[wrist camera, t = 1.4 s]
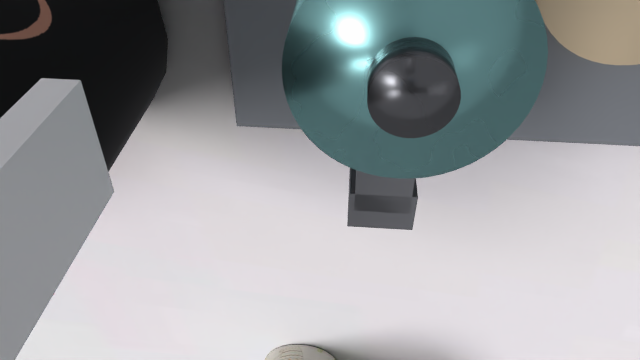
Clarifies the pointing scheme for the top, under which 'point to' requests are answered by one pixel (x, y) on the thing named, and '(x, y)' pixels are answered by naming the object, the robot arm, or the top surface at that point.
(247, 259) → the top surface
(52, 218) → the robot arm
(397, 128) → the teal rounded piece
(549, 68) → the grey tray with posts
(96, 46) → the coffee jar
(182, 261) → the top surface
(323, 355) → the mug
